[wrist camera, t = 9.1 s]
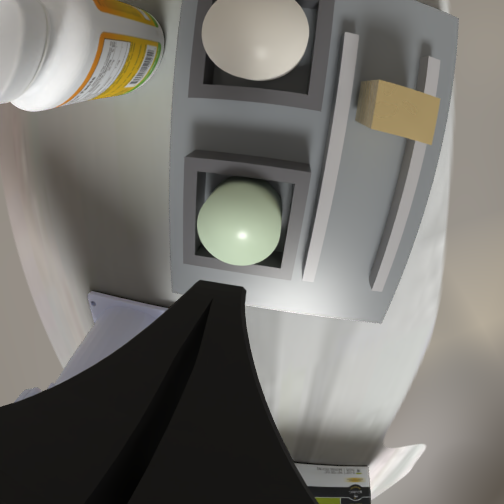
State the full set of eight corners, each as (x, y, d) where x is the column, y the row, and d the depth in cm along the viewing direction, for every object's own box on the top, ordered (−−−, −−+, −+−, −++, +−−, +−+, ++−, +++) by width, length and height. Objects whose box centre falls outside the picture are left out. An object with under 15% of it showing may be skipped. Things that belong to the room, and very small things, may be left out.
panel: (375, 303, 20) (386, 341, 16) (181, 274, 20) (163, 308, 17) (442, 23, 11) (474, 13, 8) (198, -18, 11) (175, -40, 8)
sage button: (277, 247, 16) (274, 271, 14) (207, 237, 16) (196, 258, 14) (287, 180, 14) (286, 195, 12) (211, 170, 14) (198, 183, 13)
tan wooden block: (405, 133, 12) (431, 145, 9) (355, 120, 12) (371, 129, 10) (411, 95, 11) (440, 98, 8) (361, 81, 11) (379, 79, 9)
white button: (301, 86, 11) (302, 85, 9) (212, 77, 11) (196, 75, 9) (310, 7, 9) (313, -9, 7) (221, 0, 10) (207, -15, 8)
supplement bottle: (82, 28, 13) (-49, 26, 4) (161, -4, 12) (39, -54, 4) (93, 105, 15) (-39, 146, 7) (173, 82, 14) (46, 95, 6)
